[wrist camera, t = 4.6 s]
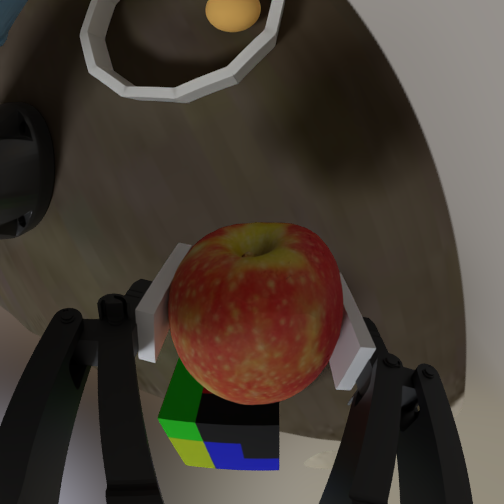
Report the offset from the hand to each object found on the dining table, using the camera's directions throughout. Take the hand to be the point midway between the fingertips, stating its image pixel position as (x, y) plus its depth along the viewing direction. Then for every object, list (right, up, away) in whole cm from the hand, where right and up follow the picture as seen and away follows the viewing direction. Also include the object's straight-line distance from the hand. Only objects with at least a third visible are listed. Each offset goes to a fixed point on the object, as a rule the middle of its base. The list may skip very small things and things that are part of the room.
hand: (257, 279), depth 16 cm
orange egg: (-2, +20, 0) cm, 20 cm away
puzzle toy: (-2, -13, +14) cm, 19 cm away
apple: (0, 0, 0) cm, 1 cm away
